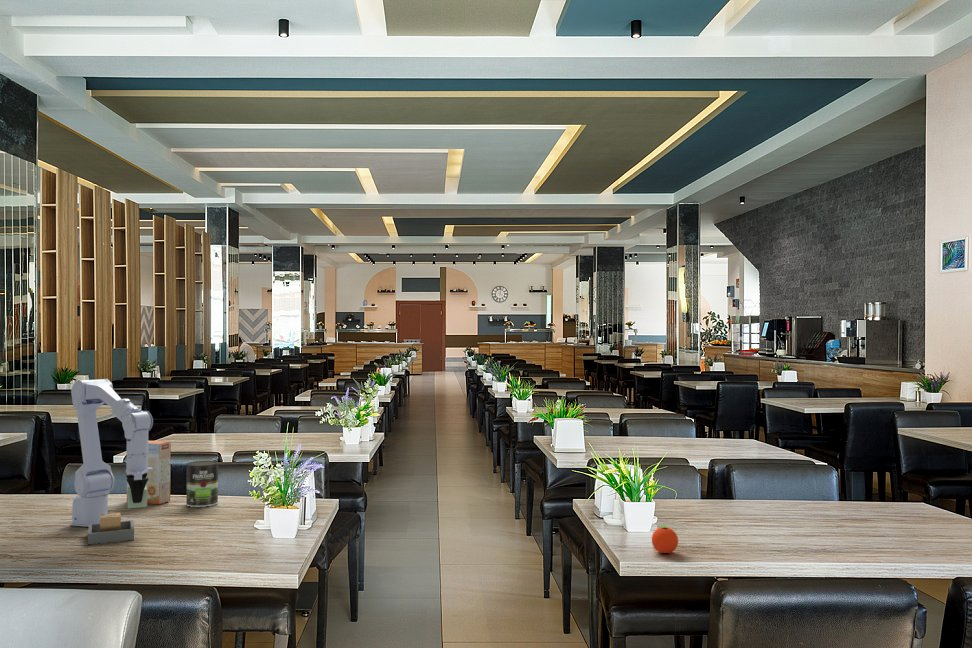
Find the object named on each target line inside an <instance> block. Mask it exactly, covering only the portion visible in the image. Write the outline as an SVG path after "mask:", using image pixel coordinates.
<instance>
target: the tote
mask: <svg viewBox="0 0 972 648" xmlns="http://www.w3.org/2000/svg"><path fill="white" fill-rule="evenodd" d="M128 540H129V541H134V540H135V525H134V519H129V520H121V530H116V531H106V532H100V523H98V524H89V527H88V530H87V545H88V544H92V545H99V544H98V543H101V544H108V543H107V542H110V543H119V542H128Z"/></svg>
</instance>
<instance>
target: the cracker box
mask: <svg viewBox="0 0 972 648" xmlns="http://www.w3.org/2000/svg"><path fill="white" fill-rule="evenodd" d="M171 445H172V443H171V441H162V440H161V441H160V440H148V467H152V471H148V472H146V473H147V476H146V478H148V481H147V483H146V485H145V486H147V505H148V504H149V505H157V504H158V505H162V504H165V502H166V503H169V502H171V463H172V462H171V454H172V453H171V450H172V449H171V448H172V447H171ZM126 475H129V474H128V473H126ZM128 487H130V486H129V484H128V482H127V481H126V503H128ZM168 501H169V502H168Z"/></svg>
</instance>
